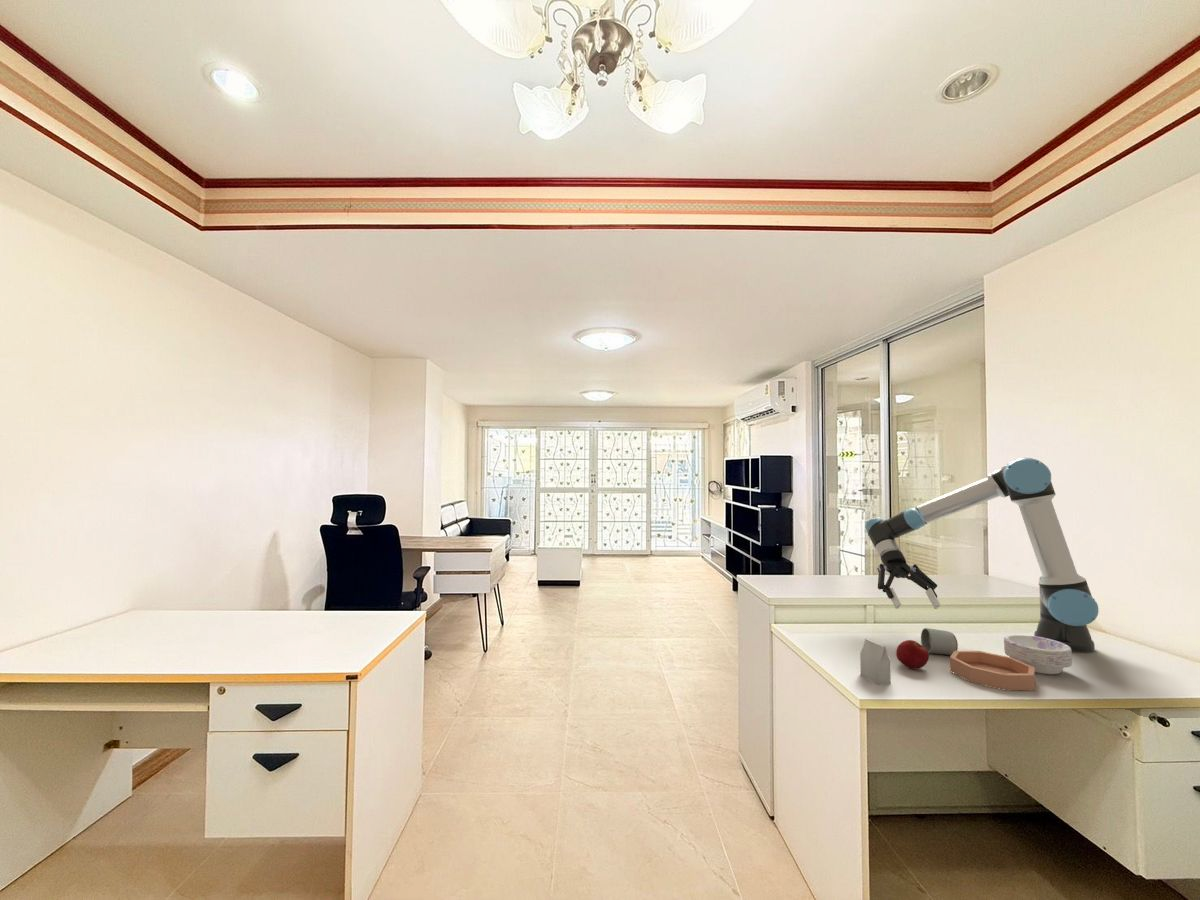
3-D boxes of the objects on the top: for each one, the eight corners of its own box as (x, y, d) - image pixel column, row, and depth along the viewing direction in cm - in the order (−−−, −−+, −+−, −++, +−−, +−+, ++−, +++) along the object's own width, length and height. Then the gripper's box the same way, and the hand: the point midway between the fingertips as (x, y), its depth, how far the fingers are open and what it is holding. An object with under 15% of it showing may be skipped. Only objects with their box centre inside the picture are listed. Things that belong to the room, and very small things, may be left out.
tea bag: (879, 684, 134) (879, 647, 135) (860, 675, 141) (860, 639, 141) (890, 683, 135) (890, 646, 136) (871, 673, 142) (870, 638, 142)
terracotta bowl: (996, 664, 150) (996, 650, 150) (1053, 690, 132) (1053, 675, 132) (937, 664, 150) (936, 650, 150) (986, 690, 131) (986, 675, 132)
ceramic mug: (960, 658, 155) (959, 633, 155) (931, 656, 156) (930, 631, 157) (942, 647, 165) (941, 624, 166) (915, 645, 167) (915, 622, 167)
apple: (912, 674, 142) (912, 645, 142) (890, 663, 149) (890, 636, 150) (935, 672, 143) (934, 644, 143) (912, 662, 151) (911, 635, 151)
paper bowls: (993, 663, 151) (992, 636, 152) (1022, 656, 157) (1021, 631, 158) (1054, 682, 137) (1054, 653, 138) (1083, 674, 143) (1083, 646, 144)
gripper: (919, 561, 187) (948, 612, 171) (853, 560, 186) (877, 612, 171) (928, 549, 182) (959, 601, 166) (861, 548, 181) (886, 600, 165)
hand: (918, 606), depth 168 cm, fingers open, 13 cm apart
